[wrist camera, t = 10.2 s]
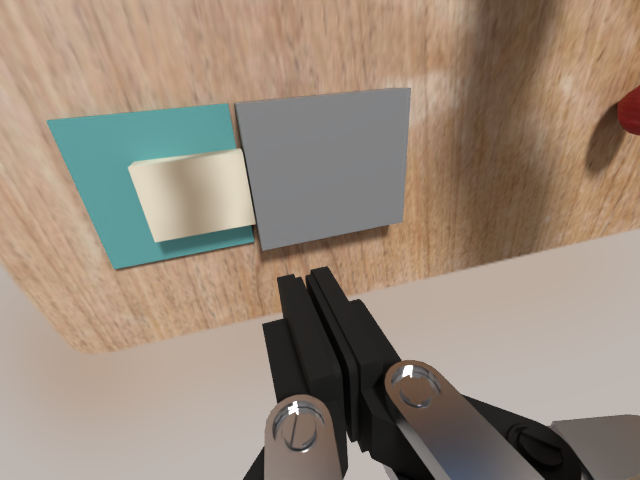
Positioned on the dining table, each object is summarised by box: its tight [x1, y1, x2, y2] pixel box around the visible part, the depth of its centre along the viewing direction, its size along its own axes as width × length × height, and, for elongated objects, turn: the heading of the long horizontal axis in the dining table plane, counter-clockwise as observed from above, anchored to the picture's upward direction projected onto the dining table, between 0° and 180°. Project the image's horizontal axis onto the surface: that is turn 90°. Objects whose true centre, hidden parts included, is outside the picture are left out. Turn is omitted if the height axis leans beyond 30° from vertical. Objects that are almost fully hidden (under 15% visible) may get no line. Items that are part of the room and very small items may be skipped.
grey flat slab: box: [234, 88, 411, 251], centre depth 27 cm, size 14×12×2 cm
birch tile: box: [128, 148, 256, 242], centre depth 25 cm, size 8×6×2 cm
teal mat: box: [47, 103, 254, 269], centre depth 25 cm, size 12×12×1 cm
